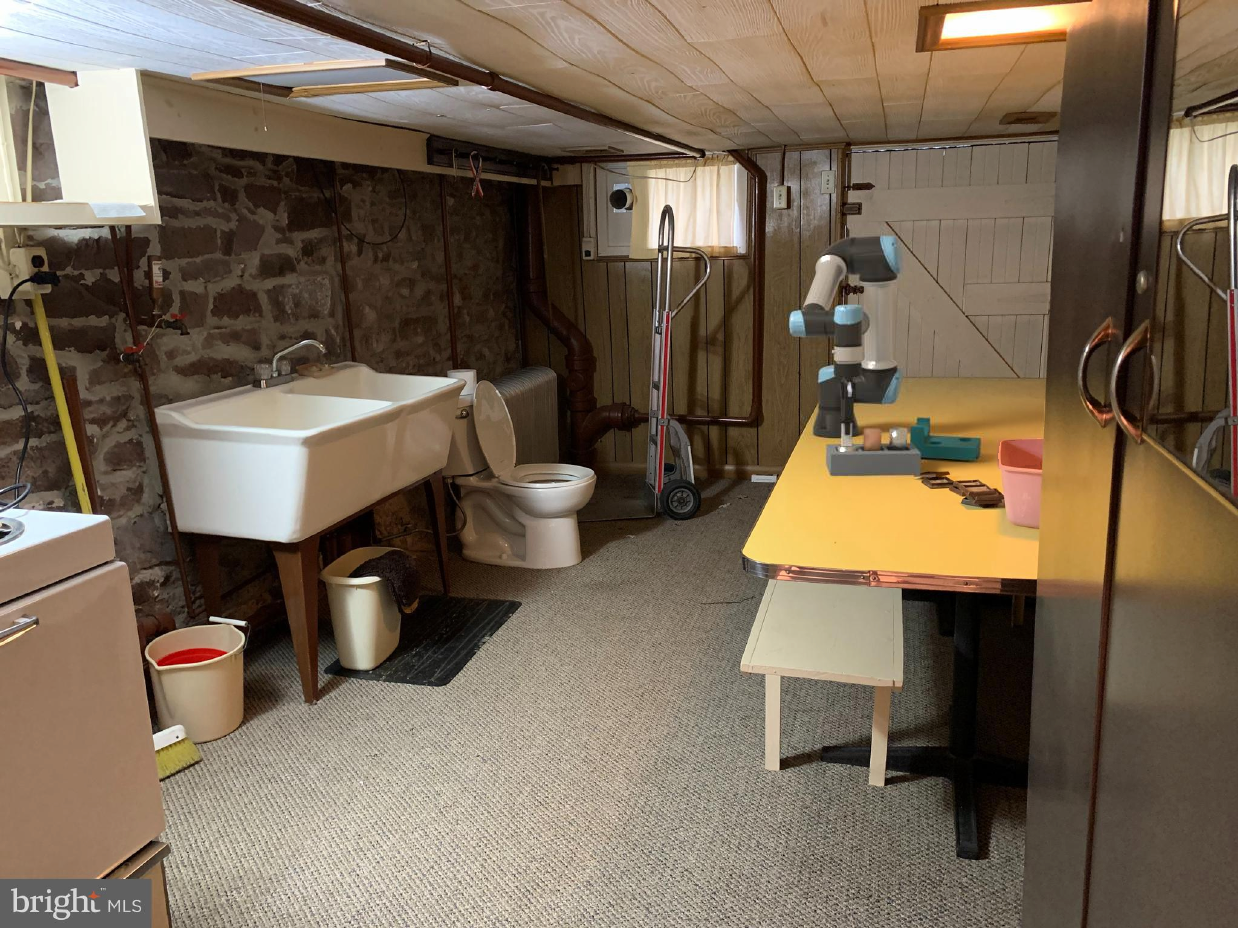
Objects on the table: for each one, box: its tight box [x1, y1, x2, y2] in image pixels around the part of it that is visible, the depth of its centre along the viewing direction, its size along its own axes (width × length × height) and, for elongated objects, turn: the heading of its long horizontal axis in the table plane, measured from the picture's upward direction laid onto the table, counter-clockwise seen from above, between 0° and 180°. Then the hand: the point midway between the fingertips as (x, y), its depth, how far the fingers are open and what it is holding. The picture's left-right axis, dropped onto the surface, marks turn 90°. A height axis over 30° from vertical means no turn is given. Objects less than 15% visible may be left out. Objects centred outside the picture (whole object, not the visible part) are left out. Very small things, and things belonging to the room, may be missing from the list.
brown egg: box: [862, 427, 882, 451], centre depth 264 cm, size 5×5×6 cm
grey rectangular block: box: [825, 442, 922, 477], centre depth 265 cm, size 14×24×6 cm, turn 83°
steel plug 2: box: [888, 426, 908, 451], centre depth 263 cm, size 5×5×6 cm
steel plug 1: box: [838, 445, 855, 451], centre depth 266 cm, size 5×5×6 cm
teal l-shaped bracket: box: [909, 416, 982, 461], centre depth 275 cm, size 18×11×10 cm, turn 62°
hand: (846, 445), depth 265 cm, fingers closed
